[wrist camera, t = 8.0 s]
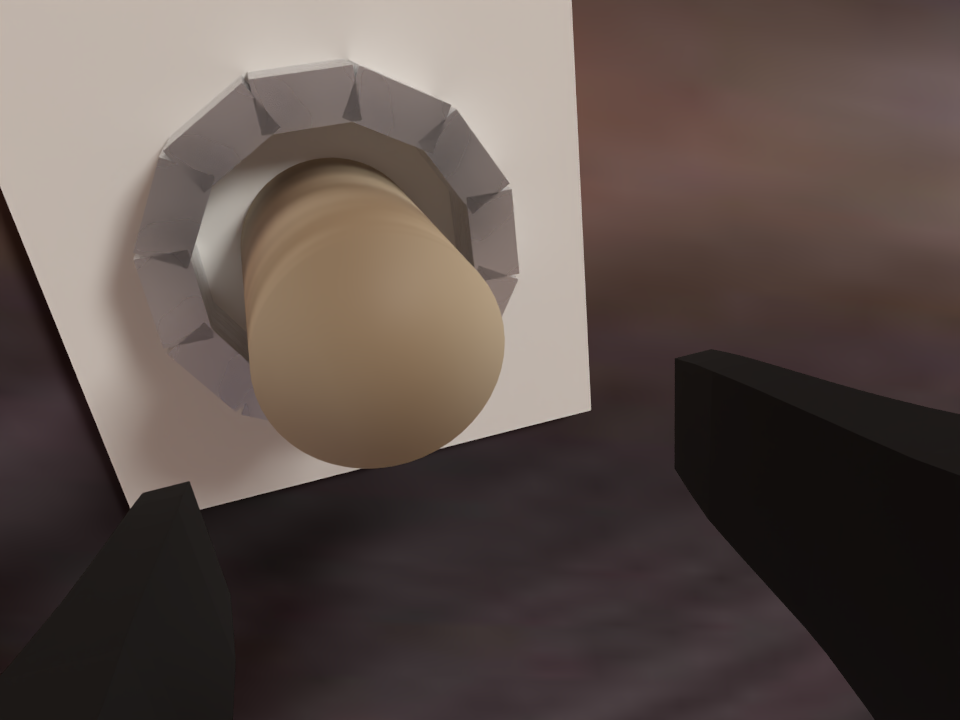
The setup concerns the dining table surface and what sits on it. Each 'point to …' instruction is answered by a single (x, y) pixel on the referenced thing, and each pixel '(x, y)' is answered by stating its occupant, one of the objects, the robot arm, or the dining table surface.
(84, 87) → the peg holder
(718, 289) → the dining table surface
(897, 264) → the dining table surface
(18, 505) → the dining table surface
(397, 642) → the dining table surface
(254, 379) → the maple peg
